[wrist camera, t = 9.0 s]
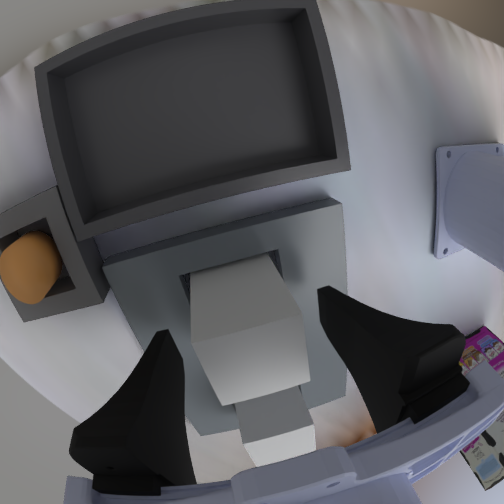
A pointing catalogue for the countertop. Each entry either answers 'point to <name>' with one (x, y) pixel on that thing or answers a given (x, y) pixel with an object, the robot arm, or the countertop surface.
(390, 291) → the countertop surface
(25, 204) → the button housing
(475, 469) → the candy bar box
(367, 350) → the robot arm
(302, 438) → the seated block
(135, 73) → the tote
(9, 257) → the orange button
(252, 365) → the pale grey block
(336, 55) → the countertop surface
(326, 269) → the grey slotted board
